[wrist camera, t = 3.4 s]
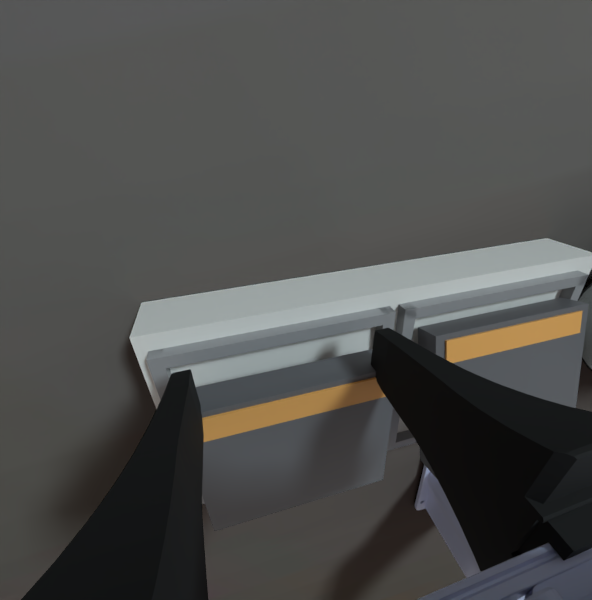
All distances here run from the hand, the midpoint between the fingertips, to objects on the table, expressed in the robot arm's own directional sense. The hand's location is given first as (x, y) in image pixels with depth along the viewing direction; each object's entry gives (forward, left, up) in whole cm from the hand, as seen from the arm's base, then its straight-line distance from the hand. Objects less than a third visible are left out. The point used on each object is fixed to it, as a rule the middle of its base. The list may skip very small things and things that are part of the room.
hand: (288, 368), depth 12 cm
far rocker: (-5, -12, -1) cm, 13 cm away
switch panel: (-5, -6, -5) cm, 9 cm away
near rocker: (-5, 0, -1) cm, 5 cm away
